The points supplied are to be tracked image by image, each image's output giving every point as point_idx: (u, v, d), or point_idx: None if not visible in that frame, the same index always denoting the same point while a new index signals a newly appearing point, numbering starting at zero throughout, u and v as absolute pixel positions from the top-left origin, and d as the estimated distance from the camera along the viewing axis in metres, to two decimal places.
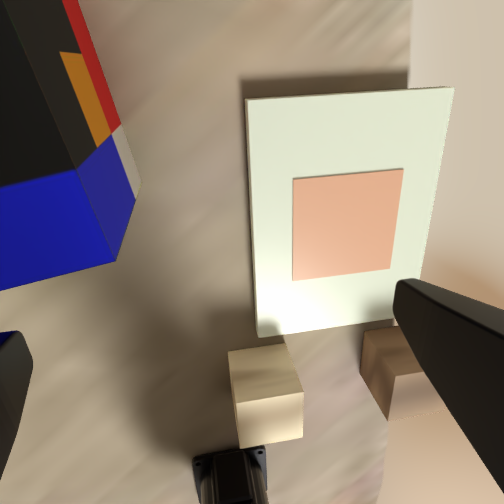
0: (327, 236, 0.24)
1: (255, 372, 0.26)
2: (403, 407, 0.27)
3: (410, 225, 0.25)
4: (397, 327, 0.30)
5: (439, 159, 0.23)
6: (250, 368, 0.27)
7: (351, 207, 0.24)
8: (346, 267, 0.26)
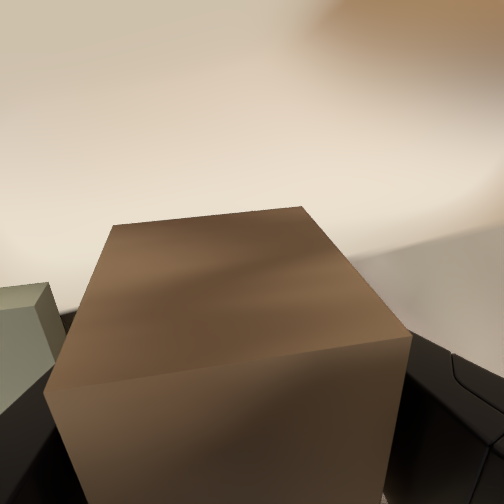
0: None
1: None
2: None
3: None
4: None
5: None
6: None
7: None
8: None
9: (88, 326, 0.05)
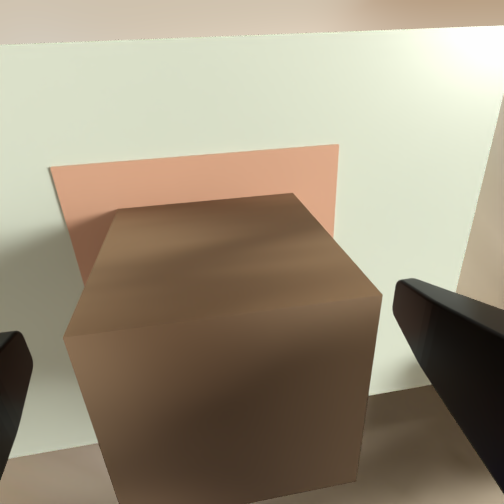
0: None
1: None
2: (298, 458, 0.07)
3: (213, 105, 0.09)
4: None
5: None
6: None
7: None
8: None
9: (99, 288, 0.06)
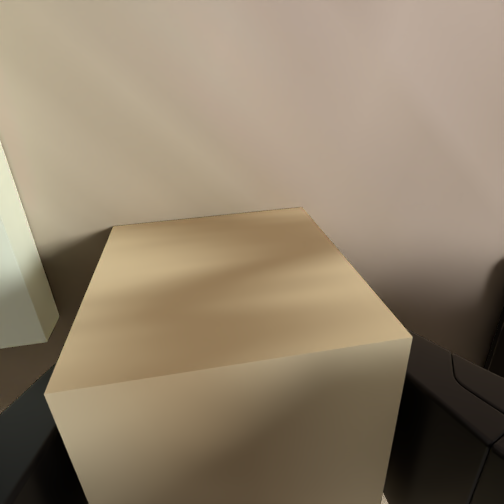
0: None
1: None
2: None
3: None
4: None
5: None
6: None
7: None
8: None
9: None
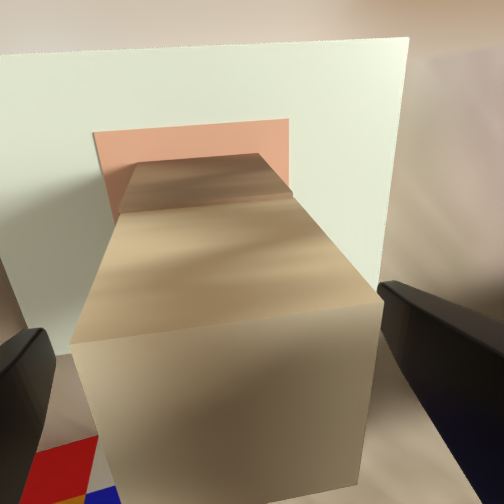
0: None
1: None
2: None
3: (202, 91, 0.13)
4: None
5: (64, 56, 0.12)
6: None
7: None
8: None
9: (133, 193, 0.10)
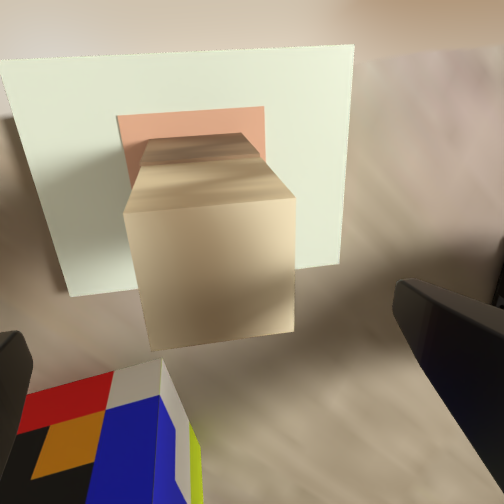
0: None
1: None
2: None
3: (198, 85, 0.18)
4: None
5: (97, 59, 0.16)
6: None
7: None
8: None
9: (148, 155, 0.15)
